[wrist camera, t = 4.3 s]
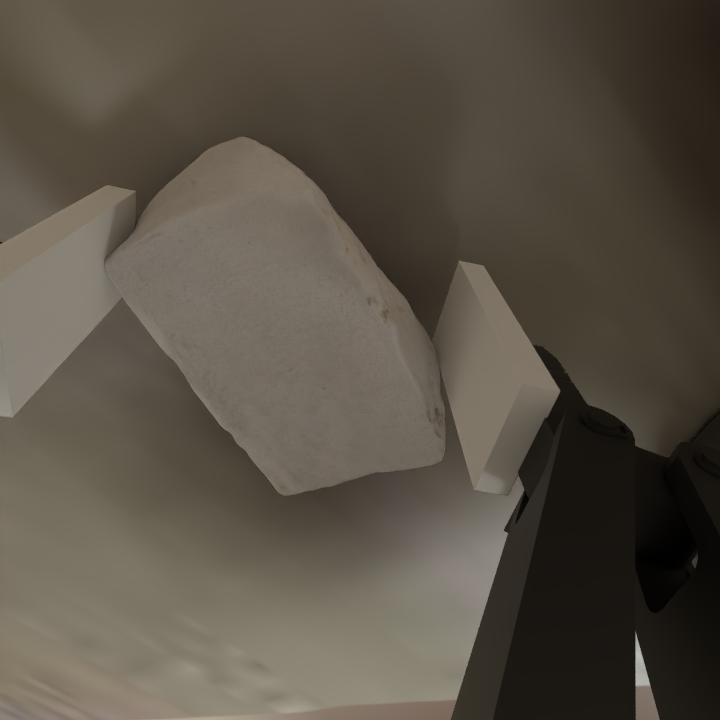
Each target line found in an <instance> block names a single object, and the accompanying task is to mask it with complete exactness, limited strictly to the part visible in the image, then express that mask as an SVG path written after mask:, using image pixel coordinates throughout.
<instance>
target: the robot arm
mask: <svg viewBox="0 0 720 720" xmlns="http://www.w3.org/2000/svg"><path fill="white" fill-rule="evenodd" d="M135 225H136V191H133V190H129V189H124V188H119V187H115V186H110V185H106V186H104V187H102V188H100V189H99V190H97V191H95V192H93V193H91V194H90V195H88V196H86V197H84V198H82V199H81V200H79V201H77V202H75V203H74V204H72V205H70V206H68V207H66V208H65V209H63V210H61V211H59V212H57V213H56V214H54V215H52V216H50V217H48V218H47V219H45V220H43V221H41V222H39V223H38V224H36V225H34V226H32V227H30V228H29V229H27V230H25V231H23V232H21V233H20V234H18V235H16V236H14V237H12V238H11V239H9V240H7V241H5V242H0V416H4V417H11V418H12V417H13V416H14V415H15V414H16V413H17V412H18V411H19V410H20V409H21V408H22V407H23V405H24V404H25V403H26V402H27V401H28V400H29V399H30V398H31V397H32V396H33V395H34V393H35V392H36V391H37V390H38V389H39V388H40V387H41V386H42V385H43V384H44V383H45V381H46V380H47V379H48V378H49V377H50V376H51V375H52V374H53V373H54V372H55V371H56V369H57V368H58V367H59V366H60V365H61V364H62V363H63V362H64V361H65V360H66V359H67V357H68V356H69V355H70V354H71V353H72V352H73V351H74V350H75V349H76V348H77V347H78V345H79V344H80V343H81V342H82V341H83V340H84V339H85V338H86V337H87V336H88V335H89V333H90V332H91V331H92V330H93V329H94V328H95V327H96V326H97V325H98V324H99V323H100V321H101V320H102V319H103V318H104V317H105V316H106V315H107V314H108V313H109V312H110V311H111V309H112V308H113V307H114V306H115V305H116V304H117V303H118V302H119V301H120V300H121V299H122V296H121V294H120V293H119V291H118V290H117V287H116V286H115V285H114V284H113V283H112V281H111V280H110V278H109V276H108V274H107V272H106V269H105V260H106V259H107V257H108V256H109V255H110V254H111V253H112V252H114V251H115V250H116V249H117V248H118V247H119V246H120V245H121V244H122V243H123V242H124V241H125V240H127V239H128V238H129V237H130V235H131V234H132V233H133V231H134V228H135ZM432 343H433V345H434V348H435V350H436V353H437V357H438V361H439V368H440V371H441V375H442V378H443V382H444V386H445V389H446V393H447V396H448V400H449V403H450V407H451V411H452V414H453V418H454V421H455V425H456V428H457V432H458V436H459V439H460V443H461V446H462V450H463V454H464V457H465V461H466V464H467V468H468V471H469V475H470V479H471V482H472V486H473V489H474V491H480V492H486V493H493V494H499V495H505V496H508V495H509V493H510V491H511V489H512V487H513V485H514V483H515V481H516V479H517V477H518V475H519V477H520V479H521V482H522V484H523V487H524V489H525V490H524V492H523V494H522V496H521V498H520V500H519V502H518V504H517V506H516V508H515V510H514V512H513V514H512V515H511V517H510V519H509V521H508V523H507V525H506V527H505V529H504V531H505V532H507V533H508V536H507V539H506V542H505V545H504V549H503V552H502V555H501V558H500V562H499V565H498V568H497V571H496V575H495V578H494V581H493V584H492V588H491V591H490V594H489V597H488V601H487V604H486V607H485V610H484V614H483V617H482V620H481V623H480V627H479V630H478V633H477V636H476V640H475V643H474V646H473V649H472V653H471V656H470V659H469V662H468V666H467V669H466V672H465V675H464V679H463V682H462V685H461V688H460V692H459V695H458V698H457V701H456V705H455V708H454V711H453V714H452V718H451V720H636V719H635V716H636V713H635V712H636V711H635V709H636V707H635V630H636V634H637V637H638V641H639V645H640V648H641V652H642V656H643V660H644V663H645V667H646V671H647V674H648V678H649V682H650V685H651V689H652V693H653V696H654V700H655V703H656V707H657V710H658V715H659V718H660V720H720V413H719V414H718V415H717V416H716V417H715V418H714V419H713V420H712V421H711V422H710V423H709V424H708V425H707V426H706V427H705V428H704V429H703V430H702V431H701V433H700V434H699V435H698V436H697V437H696V438H695V439H694V441H693V442H684V443H680V444H679V445H678V446H677V447H676V449H675V450H674V452H673V453H672V455H671V456H670V457H669V458H666V457H663V456H660V455H658V454H655V453H652V452H649V451H647V450H644V449H641V448H639V447H636V446H635V439H634V436H633V433H632V431H631V430H630V429H629V428H628V427H627V426H626V424H625V423H623V422H622V421H620V420H619V419H618V418H616V417H615V416H613V415H611V414H610V413H608V412H606V411H604V410H602V409H599V408H596V407H593V406H589V405H587V403H586V402H585V400H584V399H583V397H582V396H581V394H580V393H579V391H578V390H577V388H576V387H575V385H574V384H573V383H571V379H570V378H569V376H568V375H567V373H564V372H565V370H564V369H563V367H562V366H561V364H560V363H559V361H558V360H557V359H556V358H555V357H554V356H553V355H552V354H550V353H549V352H548V351H547V350H545V349H544V348H543V347H540V346H535V345H532V344H531V342H530V341H529V339H528V337H527V336H526V334H525V332H524V331H523V329H522V328H521V326H520V324H519V323H518V321H517V319H516V318H515V316H514V315H513V313H512V311H511V310H510V308H509V306H508V305H507V303H506V302H505V300H504V298H503V297H502V295H501V293H500V292H499V290H498V289H497V287H496V285H495V284H494V282H493V280H492V279H491V277H490V276H489V274H488V272H487V271H486V269H485V267H484V266H483V265H478V264H473V263H469V262H464V261H458V264H457V267H456V270H455V273H454V276H453V279H452V282H451V285H450V288H449V291H448V294H447V297H446V300H445V303H444V306H443V309H442V312H441V315H440V318H439V321H438V324H437V327H436V330H435V333H434V336H433V339H432Z"/></svg>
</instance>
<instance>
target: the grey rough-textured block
mask: <svg viewBox="0 0 720 720" xmlns="http://www.w3.org/2000/svg"><path fill="white" fill-rule="evenodd" d="M105 269H106V272H107V274H108V276H109V278H110V280H111V281H112V283H113V284H114V285H115V286H116V287H117V290H118V291H119V293H120V294H121V296H122V297H123V299H124V300H125V302H126V303H127V304H128V305H129V307H130V308H131V309H132V311H133V312H134V313H135V315H136V316H137V317H138V319H139V320H140V321H141V322H142V324H143V325H144V326H145V328H146V329H147V330H148V332H149V333H150V334H151V336H152V337H153V338H154V339H155V341H156V342H157V344H158V345H159V346H160V347H161V348H162V350H163V351H164V352H165V353H166V354H167V355H168V356H169V357H170V358H172V359H173V360H174V361H175V362H176V364H177V365H178V367H179V368H180V370H181V371H182V372H183V374H184V375H185V376H186V378H187V381H188V382H189V384H190V385H191V387H192V389H193V391H194V392H195V393H196V395H197V396H198V397H199V398H200V399H201V400H202V402H203V403H204V405H205V406H206V408H207V409H208V410H209V411H210V413H211V414H212V415H213V416H214V418H215V419H216V420H217V422H218V423H219V424H220V425H221V427H222V428H224V429H225V430H226V431H228V432H230V433H231V434H232V436H233V438H234V440H235V441H236V443H237V444H238V445H239V446H240V447H242V448H243V449H244V450H245V451H246V452H247V453H248V455H249V457H250V458H251V459H252V461H253V462H254V463H255V464H256V465H257V466H258V468H259V469H260V470H261V472H262V473H263V474H264V475H265V476H266V477H267V478H268V479H269V481H270V482H271V483H272V485H273V486H274V488H275V489H276V490H277V492H278V493H280V494H282V495H284V496H289V495H293V494H299V493H301V492H305V491H312V490H316V489H319V488H322V487H331V486H335V485H338V484H340V483H343V482H346V481H347V480H353V479H356V478H360V477H364V476H367V475H369V474H371V473H375V472H392V471H399V470H408V469H416V468H420V467H426V466H431V465H434V464H437V463H438V462H440V461H441V460H442V459H443V457H444V453H445V446H446V439H445V438H446V425H445V404H444V403H443V401H442V399H441V395H440V368H439V361H438V357H437V353H436V350H435V348H434V345H433V344H432V342H431V340H430V338H429V336H428V334H427V332H426V330H425V329H424V328H423V326H422V325H421V324H420V323H419V321H418V320H417V318H416V317H415V315H414V313H413V311H412V309H411V307H410V305H409V303H408V301H407V300H406V299H405V297H404V296H403V295H402V294H401V293H400V292H399V291H398V289H397V288H396V287H395V286H394V285H393V284H392V283H391V282H390V281H389V279H388V278H387V277H386V275H385V274H384V273H383V272H382V271H381V270H380V269H379V268H378V267H377V265H376V264H375V262H374V260H373V259H372V258H371V256H370V254H369V253H368V252H367V251H366V249H365V248H364V246H363V245H362V243H361V242H360V241H359V239H358V238H357V236H356V235H355V234H354V233H353V231H352V230H351V229H350V228H349V226H348V225H347V224H346V222H345V221H344V220H343V219H342V218H341V217H340V216H339V215H338V214H337V213H336V212H335V210H334V209H333V207H332V206H331V204H330V203H329V201H328V199H327V197H326V196H325V194H324V193H323V192H322V190H321V189H320V188H319V187H318V186H317V185H316V184H315V183H314V182H313V181H312V180H311V179H310V178H308V177H307V176H306V175H305V173H304V172H303V171H302V170H300V169H299V168H298V167H297V166H295V165H294V164H292V163H291V162H289V161H288V160H287V159H286V158H285V157H283V156H282V155H280V154H278V153H277V152H274V151H273V150H272V149H271V148H269V147H267V146H265V145H261V144H260V143H259V142H257V141H255V140H253V139H250V138H247V137H238V138H236V139H233V140H229V141H226V142H223V143H220V144H218V145H216V146H214V147H211V148H210V149H208V150H206V151H205V152H204V153H202V154H201V155H200V156H199V157H198V158H197V159H196V160H195V161H194V162H193V163H192V164H190V165H189V166H188V167H186V168H185V169H184V170H183V171H182V172H181V173H180V174H179V175H177V176H176V177H175V178H174V179H173V180H172V181H170V182H169V183H168V184H166V185H165V187H164V188H163V189H162V190H161V191H159V193H157V194H156V196H155V197H154V198H153V199H152V200H151V202H150V203H149V204H148V205H147V207H146V209H145V210H144V211H143V213H142V215H141V217H140V218H139V220H138V221H137V223H136V225H135V228H134V231H133V233H132V234H131V235H130V237H129V238H128V239H127V240H125V241H124V242H123V243H122V244H121V245H120V246H119V247H118V248H117V249H116V250H115V251H114V252H112V253H111V254H110V255H109V256H108V257H107V259H106V260H105Z"/></svg>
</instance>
